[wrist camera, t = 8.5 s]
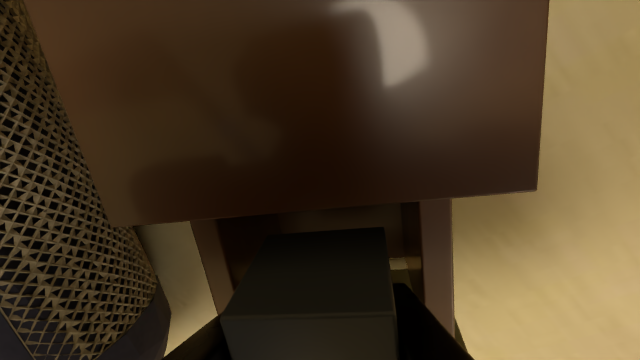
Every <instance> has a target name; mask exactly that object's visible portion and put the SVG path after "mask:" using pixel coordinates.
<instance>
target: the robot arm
mask: <svg viewBox="0 0 640 360" xmlns="http://www.w3.org/2000/svg"><path fill="white" fill-rule="evenodd" d="M392 286H393V293H394V301H395V308H396V316H397V328H398V339H399V350H400V360H474V359H473V358H472V357H471V355H470V354H469V353H468V352H467V351H466V350H465V349H464V348H463V347H462V346H461V344H460V343H459V342H458V341H457V340H456V339H455V338H454V337H453V336H452V334H451V333H450V332H449V331H448V330H447V329H446V328H445V327H444V326H443V325H442V323H441V322H440V321H439V320H438V319H437V318H436V317H435V316H434V315H433V314H432V312H431V311H430V310H429V309H428V308H427V307H426V306H425V305H424V304H423V303H422V301H421V300H420V299H419V298H418V297H417V296H416V295H415V294H414V293H413V292H412V290H411V289H410V288H409V287H408V286H407V285H406V284H405V283H392ZM222 313H223V312H222ZM222 313H220V314H219V315H218V316H216V317H215V318H214V319H213V320H211V321H210V322H209V323H207V324H206V325H205V326H204V327H202V328H201V329H200V330H198V331H197V332H196V333H195V334H193V335H192V336H191V337H189V338H188V339H187V340H186V341H184V342H183V343H182V344H180V345H179V346H178V347H177V348H175V349H174V350H173V351H171V352H170V353H169V354H168V355H166V356H165V357H164V358H162V359H161V360H231V356H230V353H229V350H228V346H227V343H226V339H225V336H224V333H223V329H222V326H221V323H220V317H221V315H222Z"/></svg>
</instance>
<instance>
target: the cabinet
mask: <svg viewBox="0 0 640 360" xmlns="http://www.w3.org/2000/svg"><path fill="white" fill-rule="evenodd" d="M23 1H24V4H25V7H26V9H27V12H28V14H29V17H30V20H31V22H32V25H33V27H34V30H35V32H36V35H37V38H38V40H39V43H40V45H41V48H42V51H43V53H44V56H45V58H46V61H47V63H48V66H49V69H50V71H51V74H52V76H53V79H54V82H55V84H56V87H57V89H58V92H59V94H60V97H61V100H62V102H63V105H64V107H65V110H66V113H67V115H68V118H69V120H70V123H71V126H72V128H73V131H74V133H75V136H76V138H77V141H78V144H79V146H80V149H81V151H82V154H83V157H84V159H85V162H86V164H87V167H88V169H89V172H90V175H91V177H92V180H93V182H94V185H95V188H96V190H97V193H98V195H99V198H100V200H101V203H102V206H103V208H104V211H105V213H106V216H107V219H108V221H109V224H110V226H111V227H112V228H114V227H126V226H137V225H149V224H161V223H172V222H184V221H196V220H207V219H219V218H231V217H242V216H254V215H265V214H277V213H289V212H300V211H312V210H324V209H335V208H347V207H359V206H370V205H382V204H393V203H405V202H417V201H428V200H440V199H452V198H463V197H475V196H487V195H498V194H510V193H522V192H533V191H536V190H537V182H538V166H539V151H540V136H541V121H542V105H543V90H544V75H545V59H546V44H547V29H548V14H549V0H23Z"/></svg>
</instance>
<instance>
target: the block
mask: <svg viewBox="0 0 640 360" xmlns="http://www.w3.org/2000/svg"><path fill="white" fill-rule="evenodd" d="M220 323H221V326H222V329H223V333H224V336H225V339H226V343H227V346H228V350H229V353H230V356H231V360H400V350H399V339H398V328H397V316H396V308H395V301H394V293H393V286H392V279H391V271H390V264H389V257H388V249H387V242H386V235H385V229H384V227H370V228H356V229H342V230H329V231H315V232H301V233H287V234H273V235H268V236H266V238H265V240H264V241H263V243H262V245H261V247H260V248H259V250H258V252H257V254H256V255H255V257H254V259H253V261H252V262H251V264H250V266H249V268H248V269H247V271H246V273H245V275H244V276H243V278H242V280H241V282H240V283H239V285H238V287H237V289H236V290H235V292H234V294H233V295H232V297H231V299H230V301H229V302H228V304H227V306H226V308H225V309H224V311H223V313H222V315H221V317H220Z"/></svg>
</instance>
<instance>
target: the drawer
mask: <svg viewBox="0 0 640 360" xmlns="http://www.w3.org/2000/svg"><path fill="white" fill-rule="evenodd" d="M190 224H191V227H192V231H193V234H194V237H195V241H196V244H197V247H198V250H199V254H200V257H201V260H202V264H203V267H204V270H205V274H206V277H207V280H208V284H209V287H210V290H211V294H212V297H213V300H214V304H215V307H216V310H217V314H218V315H219V314H220V313H222V312H223V311H224V309H225V308H226V306H227V304H228V302H229V301H230V299H231V297H232V295H233V294H234V292H235V290H236V289H237V287H238V285H239V283H240V282H241V280H242V278H243V276H244V275H245V273H246V271H247V269H248V268H249V266H250V264H251V262H252V261H253V259H254V257H255V255H256V254H257V252H258V250H259V248H260V247H261V245H262V243H263V241H264V240H265V238H266V236H268V235H273V234H287V233H301V232H315V231H329V230H342V229H356V228H370V227H384V229H385V235H386V242H387V249H388V257H389V258H401V257H405V260H406V265H407V269H400V270H390V271H391V279H392V283H405V284H406V285H407V286H408V287H409V288H410V289H411V290H412V292H413V293H414V294H415V295H416V296H417V297H418V298H419V299H420V300H421V301H422V303H423V304H424V305H425V306H426V307H427V308H428V309H429V310H430V311H431V312H432V314H433V315H434V316H435V317H436V318H437V319H438V320H439V321H440V322H441V323H442V325H443V326H444V327H445V328H446V329H447V330H448V331H449V332H450V333H451V334H452V336H453V337H454V338H455V339H456V340H457V341H458V342H459V343H460V344H461V346H462V347H463V348H464V349H465V350H466V351H467V349H466V346H465V343H464V341H463V338H462V335H461V333H460V330H459V327H458V325H457V322H456V319H455V317H454V276H453V231H452V199H440V200H428V201H417V202H405V203H393V204H382V205H370V206H359V207H347V208H335V209H324V210H312V211H300V212H289V213H277V214H265V215H254V216H242V217H231V218H219V219H207V220H196V221H190Z"/></svg>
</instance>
